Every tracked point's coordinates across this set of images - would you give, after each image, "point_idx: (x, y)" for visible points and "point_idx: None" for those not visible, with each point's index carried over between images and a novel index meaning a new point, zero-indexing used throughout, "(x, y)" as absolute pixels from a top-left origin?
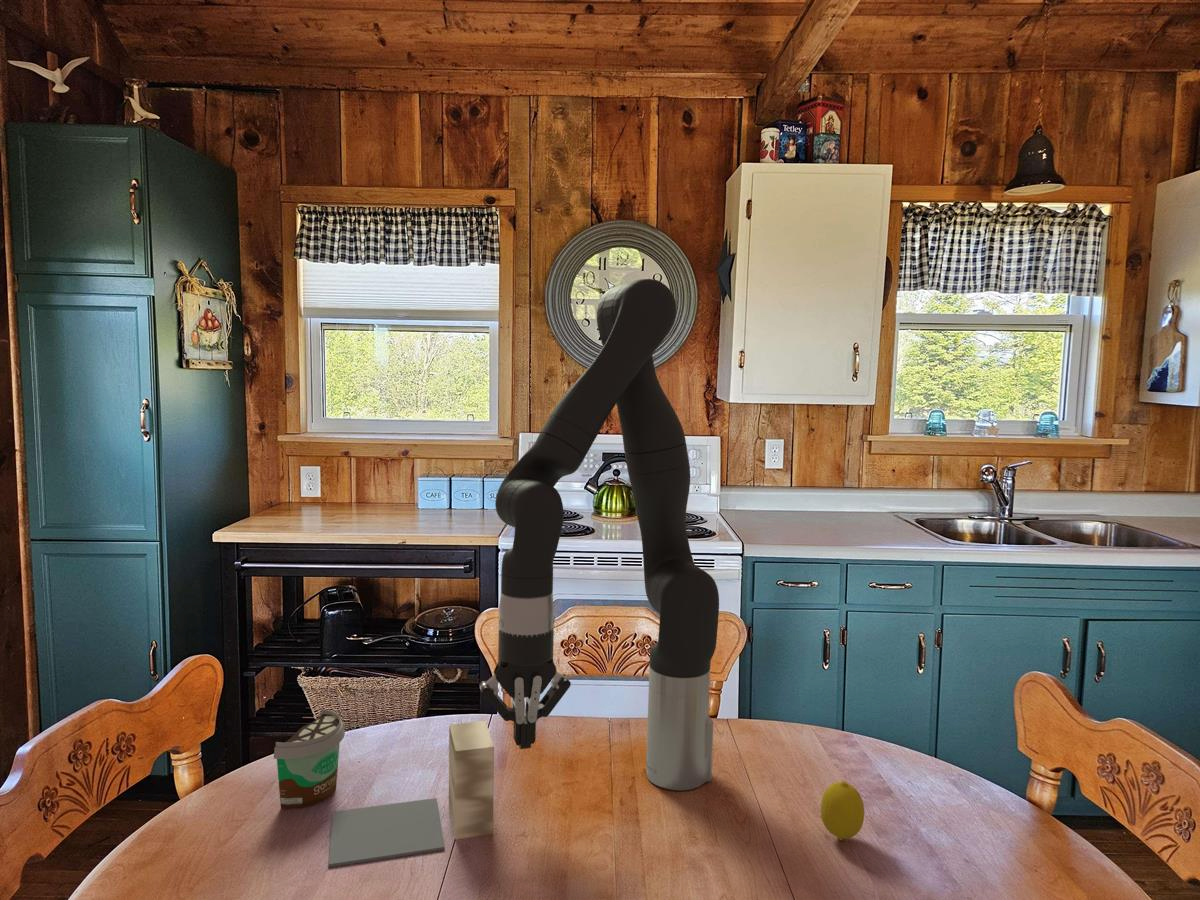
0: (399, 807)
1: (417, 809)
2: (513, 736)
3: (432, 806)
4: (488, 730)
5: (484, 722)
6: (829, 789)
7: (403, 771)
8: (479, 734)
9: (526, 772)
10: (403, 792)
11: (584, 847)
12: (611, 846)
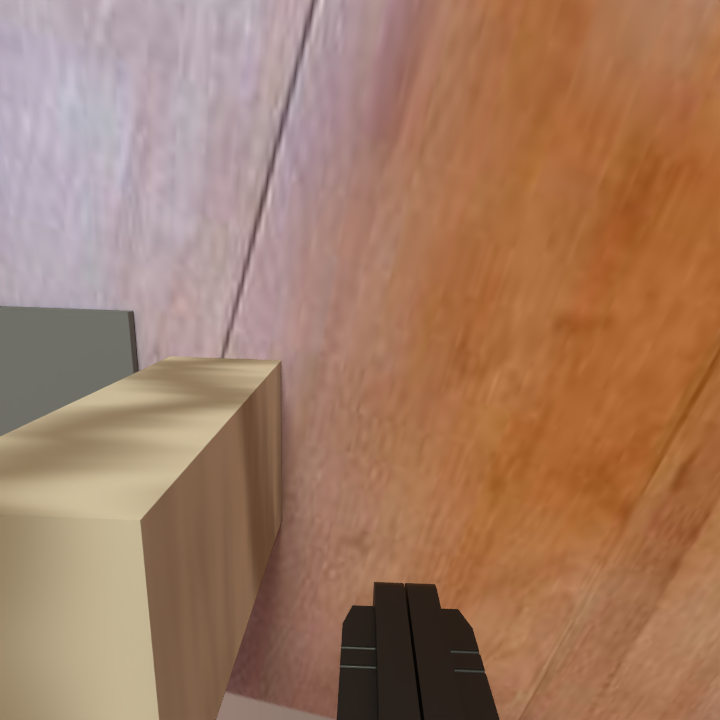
0: (12, 335)
1: (69, 362)
2: (342, 632)
3: (115, 359)
4: (153, 669)
5: (133, 542)
6: None
7: (6, 58)
8: (87, 700)
9: (460, 207)
10: (22, 224)
11: (490, 627)
12: (554, 640)
